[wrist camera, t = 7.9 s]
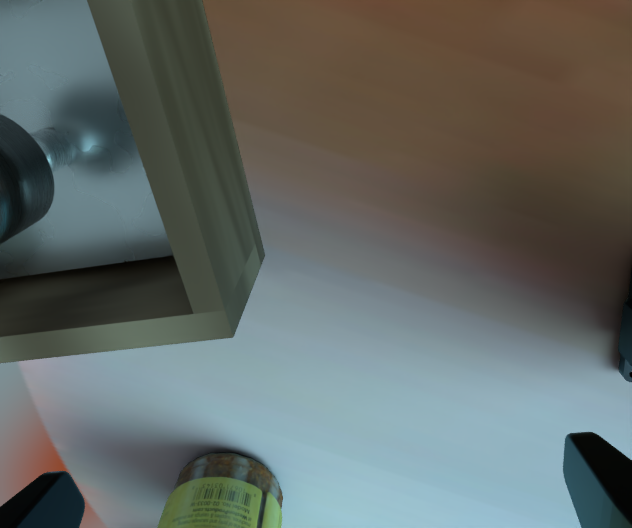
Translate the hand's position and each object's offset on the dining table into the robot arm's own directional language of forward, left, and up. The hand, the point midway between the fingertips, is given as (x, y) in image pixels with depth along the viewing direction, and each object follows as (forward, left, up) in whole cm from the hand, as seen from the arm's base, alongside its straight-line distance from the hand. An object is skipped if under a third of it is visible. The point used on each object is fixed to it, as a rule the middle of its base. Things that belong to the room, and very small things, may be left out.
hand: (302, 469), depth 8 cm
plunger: (+9, -5, -11) cm, 15 cm away
